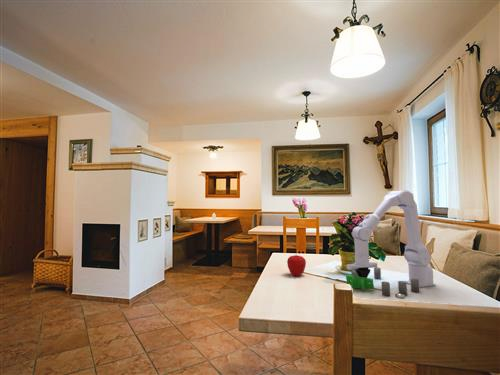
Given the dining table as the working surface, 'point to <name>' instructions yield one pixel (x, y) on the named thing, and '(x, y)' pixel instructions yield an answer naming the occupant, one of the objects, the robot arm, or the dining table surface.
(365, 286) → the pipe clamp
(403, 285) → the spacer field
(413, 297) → the dining table surface
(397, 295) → the steel nut
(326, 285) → the dining table surface
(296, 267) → the red rounded piece
